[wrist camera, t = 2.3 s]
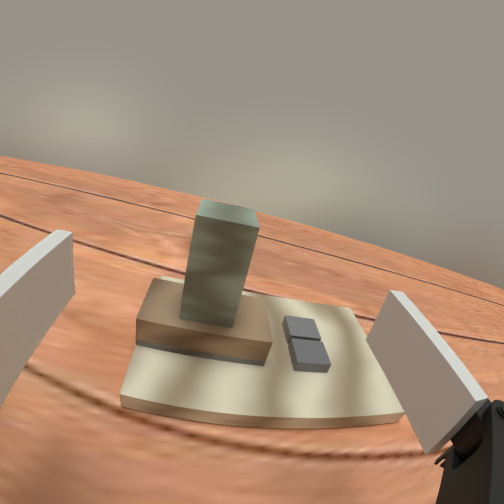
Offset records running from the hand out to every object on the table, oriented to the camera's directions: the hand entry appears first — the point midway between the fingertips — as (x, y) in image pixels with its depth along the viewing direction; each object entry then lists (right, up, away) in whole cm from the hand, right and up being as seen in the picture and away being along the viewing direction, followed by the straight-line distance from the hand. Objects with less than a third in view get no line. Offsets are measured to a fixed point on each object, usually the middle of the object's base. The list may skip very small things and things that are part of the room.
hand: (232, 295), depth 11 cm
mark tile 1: (+5, -8, +13) cm, 16 cm away
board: (+2, -8, +15) cm, 17 cm away
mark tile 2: (+5, -6, +16) cm, 18 cm away
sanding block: (-3, -5, +13) cm, 14 cm away
